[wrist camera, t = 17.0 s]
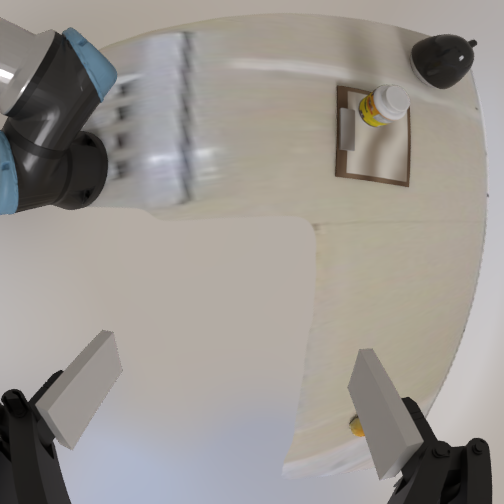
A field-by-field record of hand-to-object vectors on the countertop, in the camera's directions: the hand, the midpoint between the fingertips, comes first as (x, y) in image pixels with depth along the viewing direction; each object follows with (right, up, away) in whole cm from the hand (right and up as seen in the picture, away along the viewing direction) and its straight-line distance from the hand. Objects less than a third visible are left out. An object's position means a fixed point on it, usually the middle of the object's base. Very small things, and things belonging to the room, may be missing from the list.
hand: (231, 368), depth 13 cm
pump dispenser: (+35, +41, +22) cm, 58 cm away
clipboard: (+22, +25, +26) cm, 43 cm away
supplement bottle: (+21, +29, +25) cm, 44 cm away
